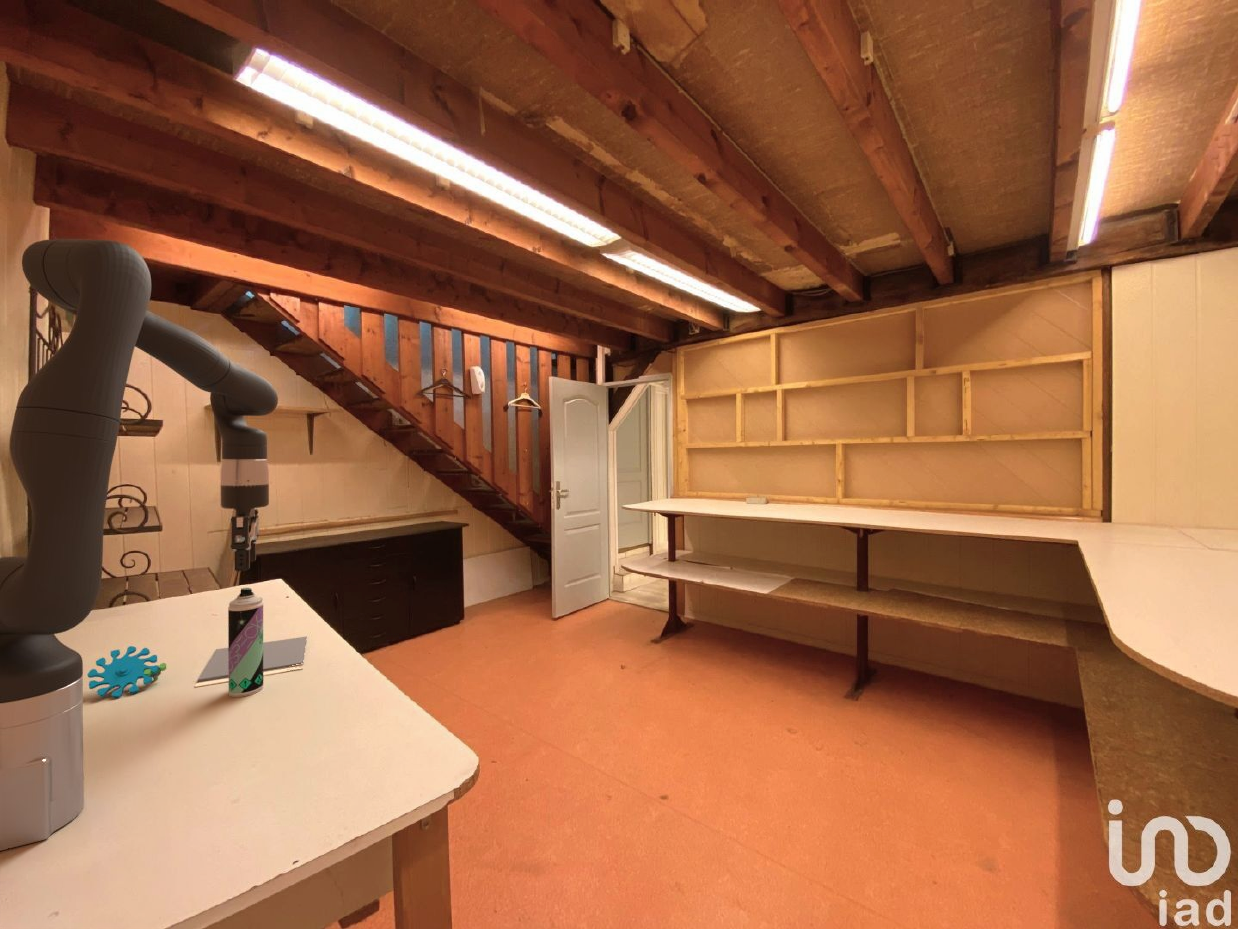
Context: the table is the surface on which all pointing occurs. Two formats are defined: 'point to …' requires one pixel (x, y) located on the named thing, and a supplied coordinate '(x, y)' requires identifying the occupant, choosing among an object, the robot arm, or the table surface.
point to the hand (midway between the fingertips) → (245, 566)
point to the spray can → (245, 644)
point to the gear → (125, 672)
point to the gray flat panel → (273, 658)
